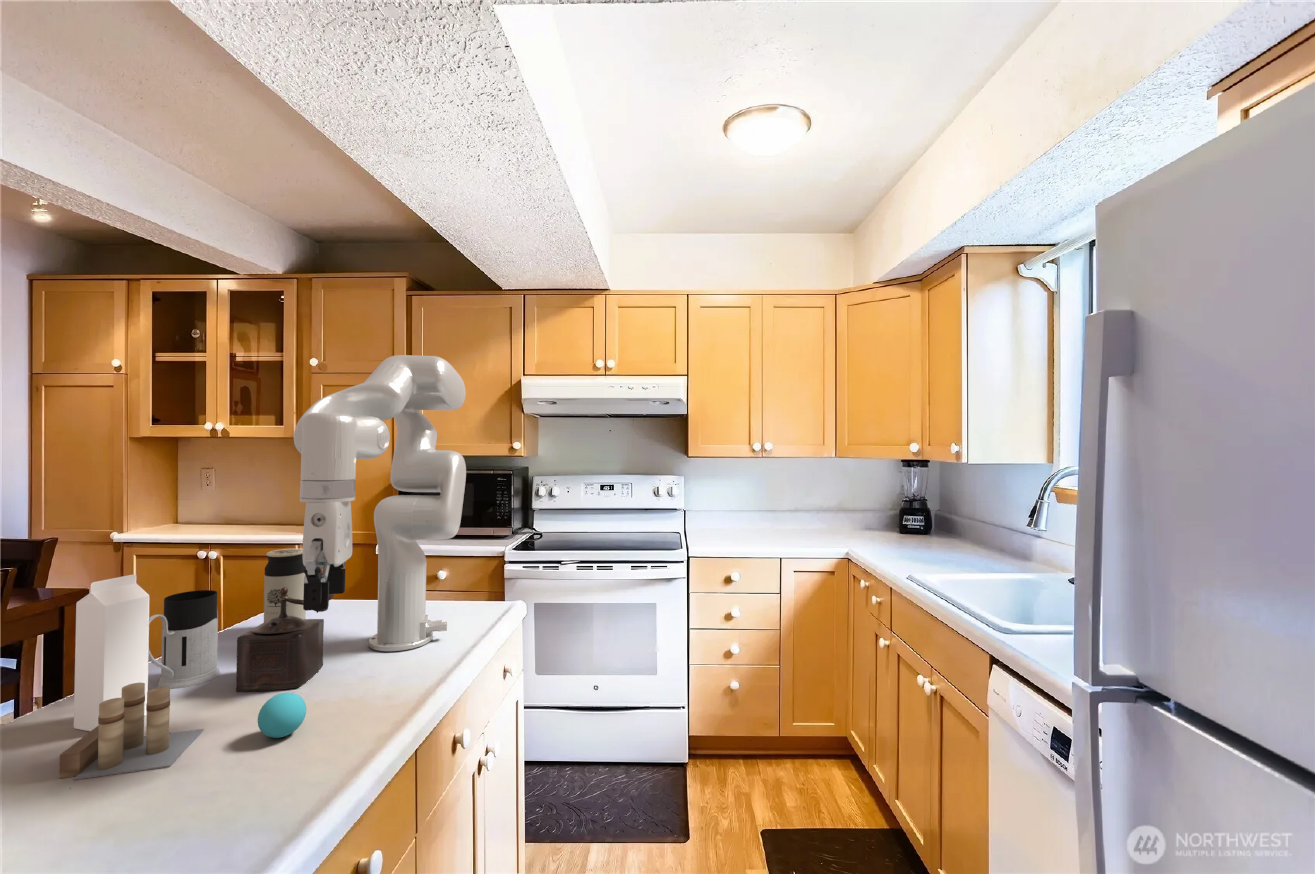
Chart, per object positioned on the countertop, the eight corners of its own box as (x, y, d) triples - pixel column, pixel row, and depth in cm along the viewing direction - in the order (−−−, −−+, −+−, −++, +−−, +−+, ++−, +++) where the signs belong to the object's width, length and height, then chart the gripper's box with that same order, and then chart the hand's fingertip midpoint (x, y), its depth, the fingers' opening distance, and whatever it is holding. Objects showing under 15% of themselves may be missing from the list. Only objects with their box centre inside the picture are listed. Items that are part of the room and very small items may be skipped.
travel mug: (283, 624, 133) (284, 547, 133) (313, 625, 132) (315, 548, 132) (254, 635, 125) (255, 554, 125) (286, 637, 124) (288, 555, 124)
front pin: (172, 745, 80) (174, 685, 80) (163, 754, 78) (164, 692, 78) (151, 748, 79) (152, 687, 79) (141, 757, 77) (142, 694, 77)
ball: (310, 722, 87) (311, 683, 87) (299, 742, 81) (300, 700, 81) (265, 728, 85) (266, 688, 85) (250, 748, 79) (251, 706, 79)
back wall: (120, 740, 81) (121, 719, 81) (79, 775, 73) (79, 752, 73) (103, 742, 81) (103, 721, 81) (59, 778, 72) (59, 754, 72)
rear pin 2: (147, 740, 81) (149, 681, 81) (138, 749, 79) (139, 688, 79) (126, 743, 80) (127, 683, 80) (115, 752, 78) (117, 690, 78)
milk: (73, 729, 84) (74, 581, 84) (120, 710, 90) (121, 572, 90) (102, 734, 83) (104, 584, 83) (149, 714, 89) (150, 574, 89)
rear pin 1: (127, 759, 76) (128, 696, 76) (116, 769, 74) (117, 704, 74) (104, 762, 76) (105, 698, 76) (92, 772, 73) (93, 707, 73)
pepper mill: (230, 694, 96) (232, 588, 96) (265, 668, 107) (267, 573, 107) (328, 689, 98) (330, 586, 99) (352, 664, 109) (354, 571, 110)
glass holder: (231, 668, 107) (233, 589, 107) (169, 702, 93) (171, 611, 93) (184, 668, 107) (185, 589, 107) (114, 703, 92) (116, 611, 93)
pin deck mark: (203, 729, 84) (203, 728, 84) (169, 766, 75) (169, 765, 75) (120, 740, 81) (120, 738, 81) (73, 779, 72) (73, 778, 72)
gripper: (340, 495, 81) (337, 614, 81) (366, 488, 98) (363, 587, 98) (281, 495, 79) (277, 618, 79) (317, 488, 96) (314, 589, 95)
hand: (325, 601), depth 88 cm, fingers open, 9 cm apart
